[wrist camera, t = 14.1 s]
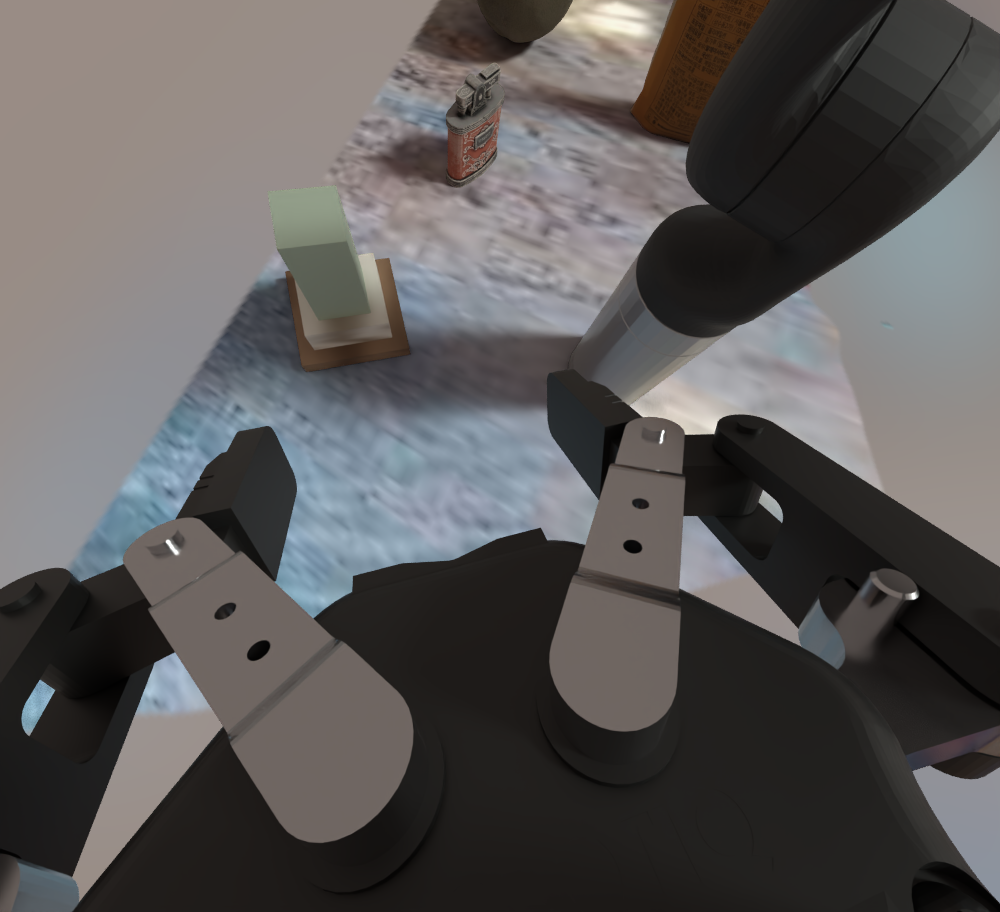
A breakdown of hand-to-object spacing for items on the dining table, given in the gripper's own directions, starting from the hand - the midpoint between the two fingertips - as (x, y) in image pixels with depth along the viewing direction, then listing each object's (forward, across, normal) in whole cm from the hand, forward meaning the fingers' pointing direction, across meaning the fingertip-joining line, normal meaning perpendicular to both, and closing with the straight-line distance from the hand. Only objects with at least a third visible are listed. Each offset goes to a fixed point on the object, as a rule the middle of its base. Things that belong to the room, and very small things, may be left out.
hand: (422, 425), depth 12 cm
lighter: (+51, -13, -7) cm, 53 cm away
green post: (+34, +5, +3) cm, 35 cm away
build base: (+38, +5, +6) cm, 38 cm away
